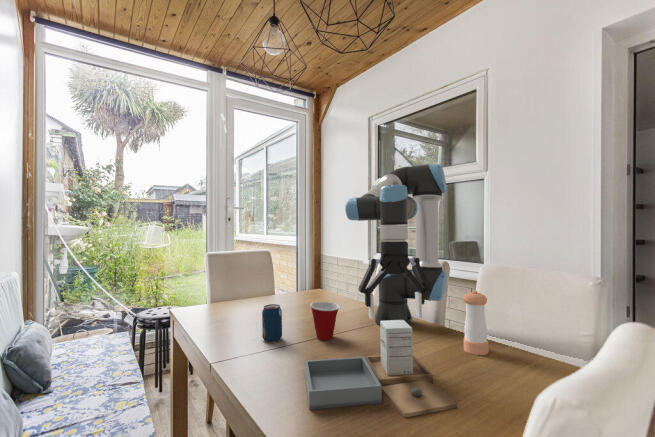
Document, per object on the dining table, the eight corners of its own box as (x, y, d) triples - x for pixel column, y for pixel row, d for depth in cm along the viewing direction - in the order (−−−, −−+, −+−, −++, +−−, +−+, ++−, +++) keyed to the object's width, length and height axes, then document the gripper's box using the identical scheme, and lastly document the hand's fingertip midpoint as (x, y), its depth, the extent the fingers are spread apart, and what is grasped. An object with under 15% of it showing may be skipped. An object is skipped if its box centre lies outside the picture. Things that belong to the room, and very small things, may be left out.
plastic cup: (337, 344, 112) (337, 308, 112) (307, 342, 114) (306, 307, 114) (342, 333, 123) (342, 301, 123) (314, 331, 125) (314, 300, 125)
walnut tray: (411, 359, 99) (411, 353, 99) (433, 382, 84) (433, 375, 85) (364, 362, 97) (364, 356, 97) (378, 386, 83) (378, 379, 83)
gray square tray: (364, 371, 91) (363, 356, 91) (381, 403, 75) (381, 385, 75) (304, 375, 89) (304, 360, 89) (309, 409, 73) (309, 391, 73)
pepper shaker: (487, 347, 107) (485, 289, 107) (490, 356, 100) (488, 293, 100) (462, 345, 109) (461, 287, 110) (464, 353, 102) (463, 292, 103)
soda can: (285, 338, 119) (285, 304, 119) (275, 344, 112) (274, 309, 112) (269, 335, 121) (269, 303, 122) (258, 341, 115) (258, 307, 115)
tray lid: (426, 382, 84) (426, 374, 84) (456, 407, 73) (456, 398, 73) (380, 390, 81) (380, 381, 81) (404, 417, 69) (404, 408, 69)
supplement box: (380, 364, 94) (379, 320, 94) (405, 363, 95) (404, 319, 95) (386, 376, 87) (385, 328, 87) (413, 374, 87) (413, 327, 88)
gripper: (430, 239, 97) (431, 311, 96) (347, 240, 93) (348, 315, 93) (442, 240, 89) (444, 318, 89) (353, 241, 86) (353, 323, 85)
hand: (395, 317), depth 91 cm, fingers open, 13 cm apart
